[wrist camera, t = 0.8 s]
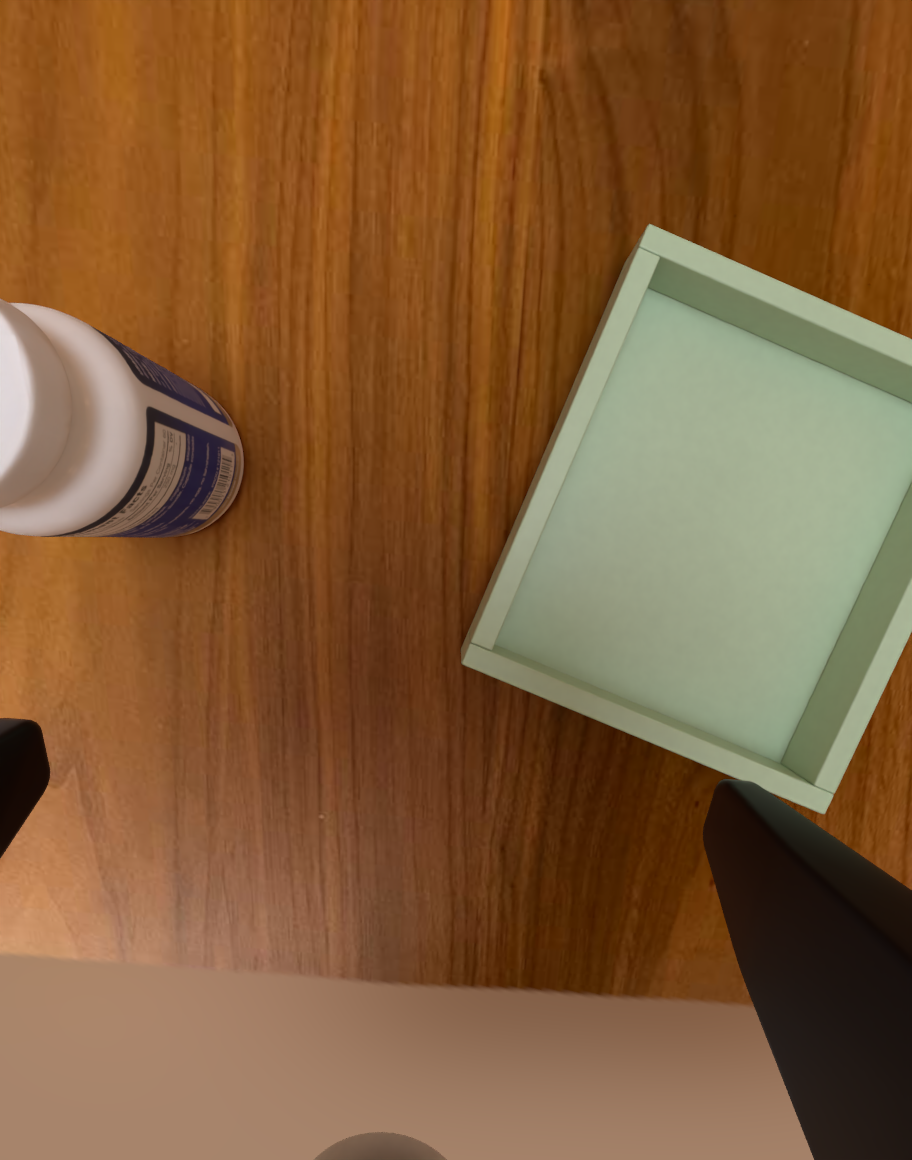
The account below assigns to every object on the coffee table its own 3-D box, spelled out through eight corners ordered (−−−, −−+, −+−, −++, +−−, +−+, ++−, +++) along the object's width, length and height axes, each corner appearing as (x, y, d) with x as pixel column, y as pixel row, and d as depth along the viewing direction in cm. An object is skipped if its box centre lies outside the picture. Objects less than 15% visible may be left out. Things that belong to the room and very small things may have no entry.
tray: (782, 784, 21) (824, 815, 19) (460, 650, 21) (460, 664, 19) (958, 408, 21) (1027, 389, 18) (625, 262, 20) (648, 222, 18)
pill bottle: (73, 416, 21) (-285, 295, 11) (215, 361, 20) (-13, 188, 10) (131, 560, 21) (-163, 574, 11) (272, 508, 21) (103, 474, 11)
